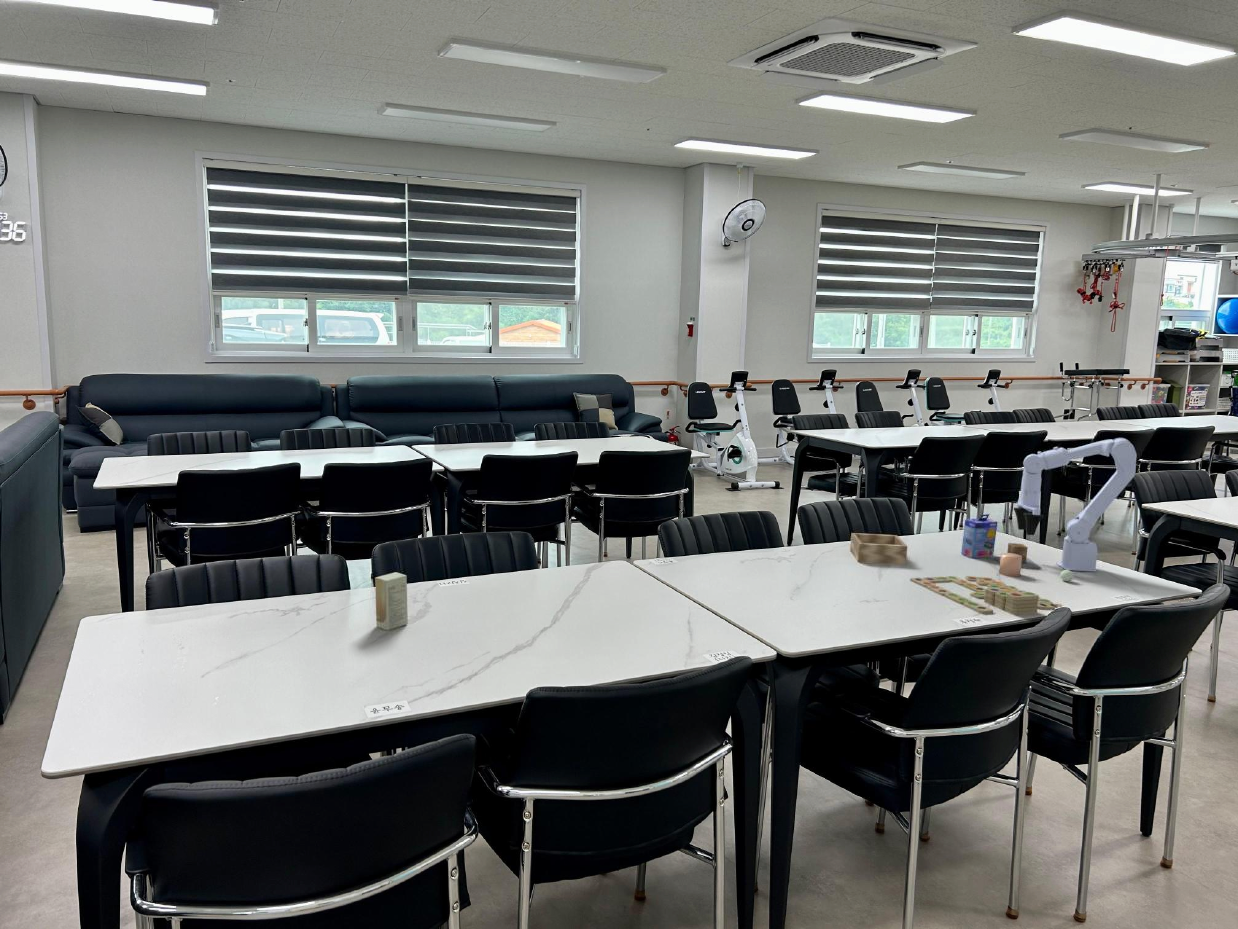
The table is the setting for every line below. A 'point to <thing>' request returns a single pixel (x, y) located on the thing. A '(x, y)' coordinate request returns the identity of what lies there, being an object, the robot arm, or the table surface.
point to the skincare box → (391, 601)
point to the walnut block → (1018, 550)
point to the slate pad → (1028, 564)
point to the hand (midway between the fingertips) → (1026, 532)
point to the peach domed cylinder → (1010, 564)
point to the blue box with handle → (979, 537)
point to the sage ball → (1066, 575)
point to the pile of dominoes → (989, 595)
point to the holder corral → (878, 548)
